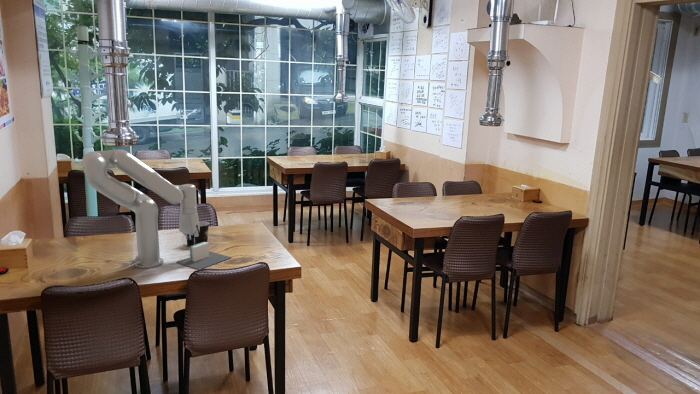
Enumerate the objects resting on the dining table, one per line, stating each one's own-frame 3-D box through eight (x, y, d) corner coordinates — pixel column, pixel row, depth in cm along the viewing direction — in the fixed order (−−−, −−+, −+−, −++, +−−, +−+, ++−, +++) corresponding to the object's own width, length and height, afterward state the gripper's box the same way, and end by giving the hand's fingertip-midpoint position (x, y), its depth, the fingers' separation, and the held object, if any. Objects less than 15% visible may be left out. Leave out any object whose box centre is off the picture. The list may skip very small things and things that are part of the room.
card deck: (194, 261, 246) (194, 247, 245) (190, 260, 248) (189, 246, 246) (209, 256, 254) (208, 242, 252) (204, 255, 255) (204, 241, 254)
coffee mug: (199, 245, 271) (198, 227, 269) (189, 242, 276) (188, 224, 274) (217, 240, 280) (216, 222, 278) (207, 237, 285) (206, 219, 283)
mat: (199, 270, 237) (199, 269, 237) (176, 262, 245) (176, 262, 245) (231, 258, 253) (231, 257, 253) (208, 251, 262) (208, 251, 262)
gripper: (172, 209, 250) (174, 245, 254) (193, 214, 242) (195, 251, 246) (184, 206, 256) (186, 241, 260) (205, 210, 248) (207, 247, 252)
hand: (190, 246), depth 253 cm, fingers closed
